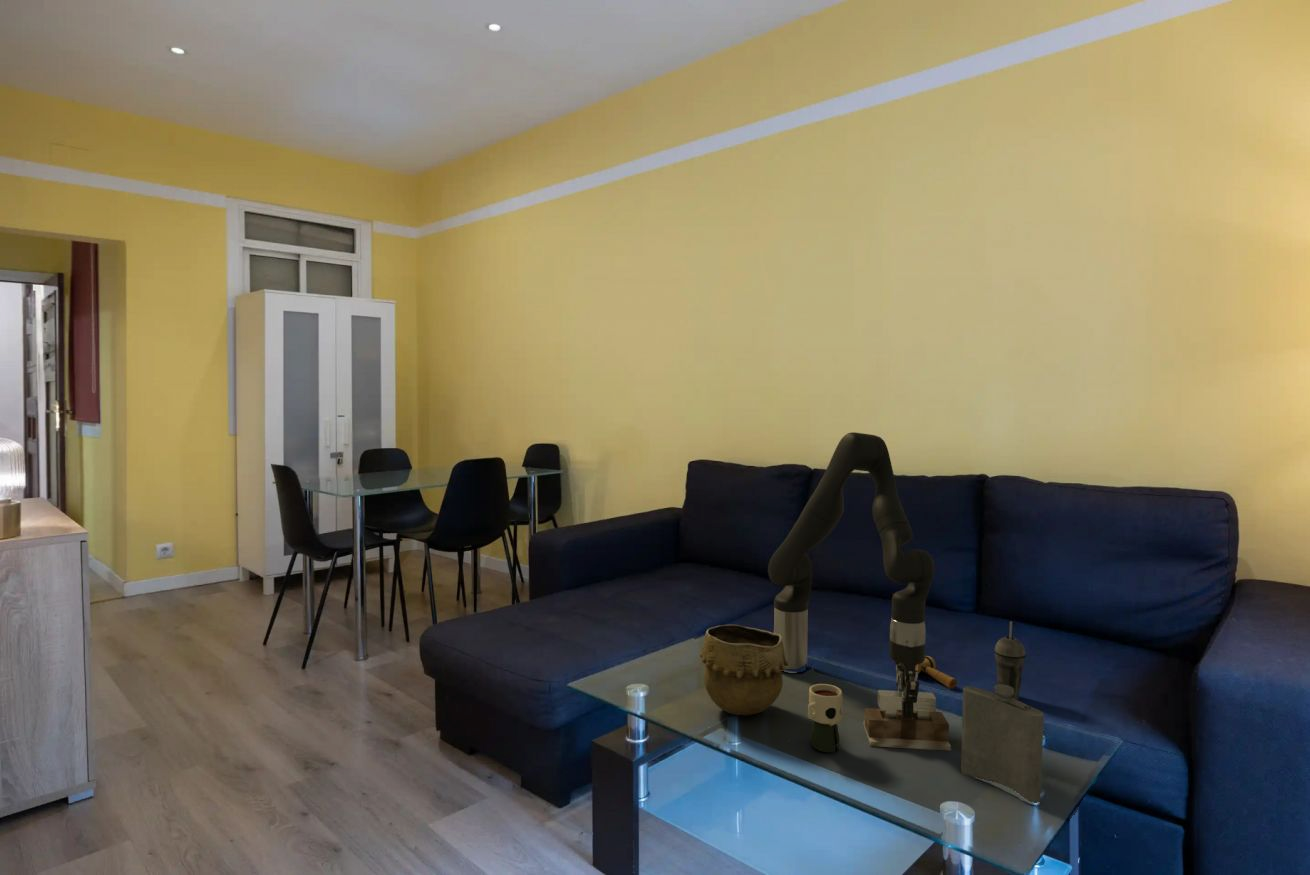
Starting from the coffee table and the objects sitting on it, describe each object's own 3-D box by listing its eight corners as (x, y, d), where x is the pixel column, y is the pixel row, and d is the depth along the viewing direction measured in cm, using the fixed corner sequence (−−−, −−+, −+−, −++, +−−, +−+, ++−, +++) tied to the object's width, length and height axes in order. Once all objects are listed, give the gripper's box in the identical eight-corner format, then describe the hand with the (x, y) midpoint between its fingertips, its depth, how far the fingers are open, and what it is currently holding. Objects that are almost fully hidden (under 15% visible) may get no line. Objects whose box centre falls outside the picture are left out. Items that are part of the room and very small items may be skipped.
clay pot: (736, 685, 192) (736, 612, 191) (804, 711, 177) (804, 631, 176) (682, 710, 177) (682, 630, 176) (751, 740, 162) (751, 653, 161)
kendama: (963, 690, 192) (910, 659, 208) (964, 669, 191) (910, 639, 206) (943, 701, 189) (890, 668, 204) (943, 680, 187) (890, 649, 202)
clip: (879, 730, 163) (880, 695, 162) (877, 723, 166) (877, 690, 165) (935, 733, 161) (936, 698, 161) (931, 726, 164) (932, 692, 164)
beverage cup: (1024, 694, 186) (1026, 617, 185) (1025, 705, 180) (1027, 626, 178) (992, 689, 189) (995, 614, 188) (992, 700, 183) (995, 622, 181)
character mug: (821, 762, 153) (822, 702, 152) (795, 748, 159) (796, 691, 158) (853, 746, 159) (854, 689, 159) (828, 734, 165) (829, 678, 164)
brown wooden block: (870, 745, 160) (870, 723, 159) (863, 724, 170) (863, 704, 169) (950, 750, 158) (951, 728, 157) (938, 729, 167) (939, 708, 167)
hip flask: (957, 771, 149) (960, 676, 148) (968, 765, 152) (971, 672, 150) (1035, 807, 136) (1038, 704, 135) (1046, 800, 139) (1049, 699, 137)
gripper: (884, 627, 169) (882, 699, 171) (896, 649, 156) (894, 727, 157) (917, 628, 168) (915, 700, 170) (932, 650, 155) (930, 729, 156)
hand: (905, 713), depth 163 cm, fingers closed on clip, 3 cm apart
